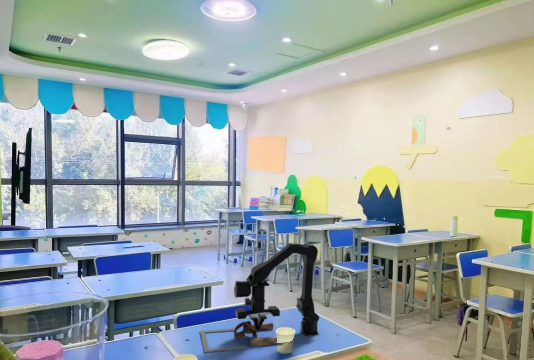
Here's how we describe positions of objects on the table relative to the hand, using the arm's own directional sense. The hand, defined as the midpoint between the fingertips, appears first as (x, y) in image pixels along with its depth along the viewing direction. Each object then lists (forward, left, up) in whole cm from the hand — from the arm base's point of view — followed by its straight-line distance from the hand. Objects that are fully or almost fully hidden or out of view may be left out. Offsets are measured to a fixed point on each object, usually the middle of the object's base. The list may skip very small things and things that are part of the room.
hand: (257, 332), depth 162 cm
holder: (-2, 0, -2) cm, 3 cm away
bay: (+15, 0, -2) cm, 15 cm away
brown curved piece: (+5, +1, -2) cm, 6 cm away
